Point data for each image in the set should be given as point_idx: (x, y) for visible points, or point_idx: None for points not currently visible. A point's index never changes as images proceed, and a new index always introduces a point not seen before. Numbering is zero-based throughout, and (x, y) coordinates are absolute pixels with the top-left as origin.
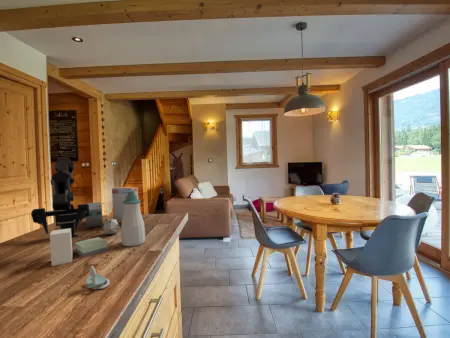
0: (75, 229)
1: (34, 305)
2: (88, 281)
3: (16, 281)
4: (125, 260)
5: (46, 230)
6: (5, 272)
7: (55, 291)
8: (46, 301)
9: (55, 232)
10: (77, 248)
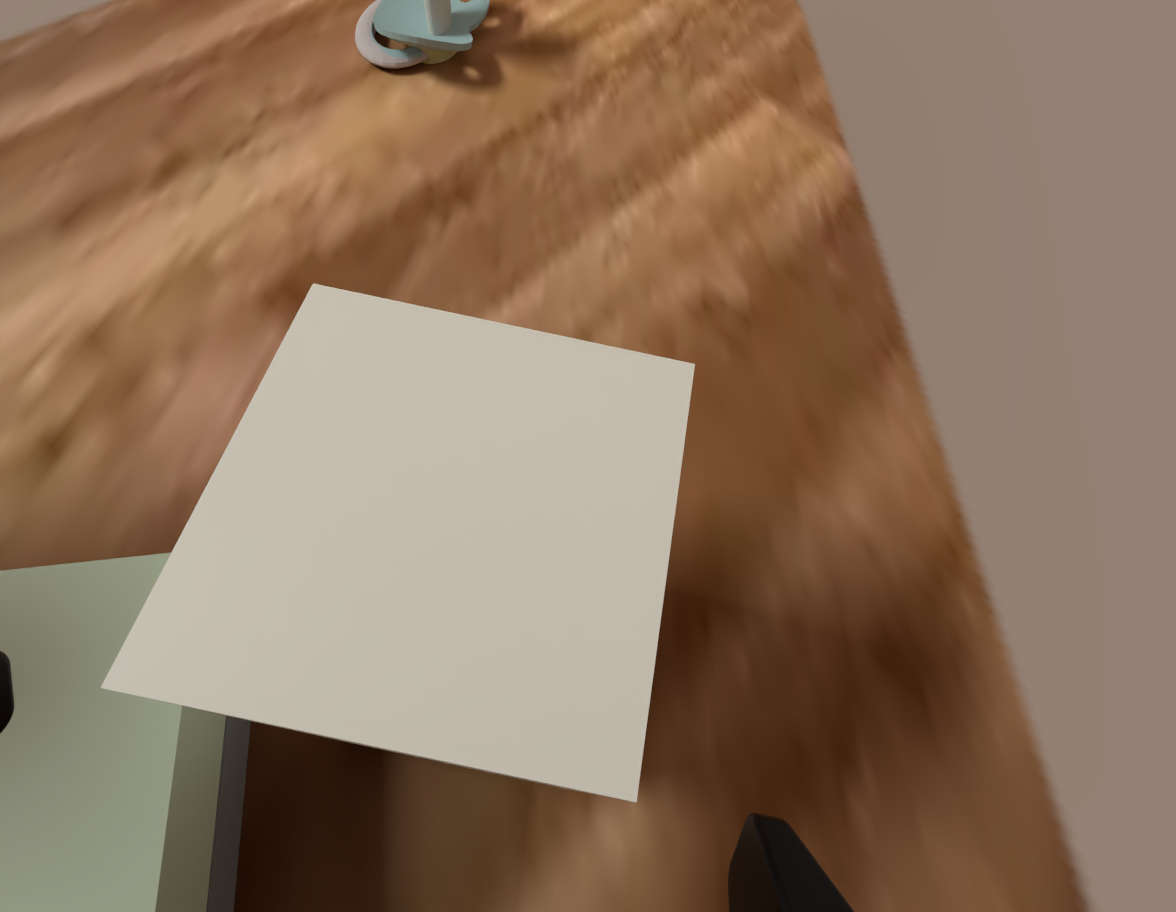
0: (10, 695)
1: (717, 71)
2: (460, 42)
3: (862, 418)
4: (61, 208)
5: (792, 865)
6: (1031, 752)
7: (624, 120)
8: (669, 68)
9: (572, 487)
10: (202, 863)
